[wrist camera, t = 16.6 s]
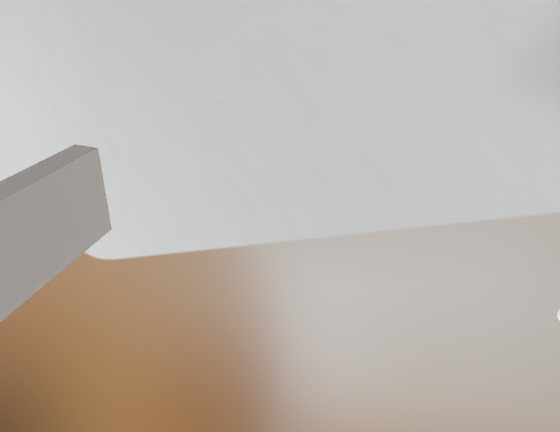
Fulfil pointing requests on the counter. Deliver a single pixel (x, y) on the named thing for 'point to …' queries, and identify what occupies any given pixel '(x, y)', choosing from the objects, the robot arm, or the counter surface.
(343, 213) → the counter surface
